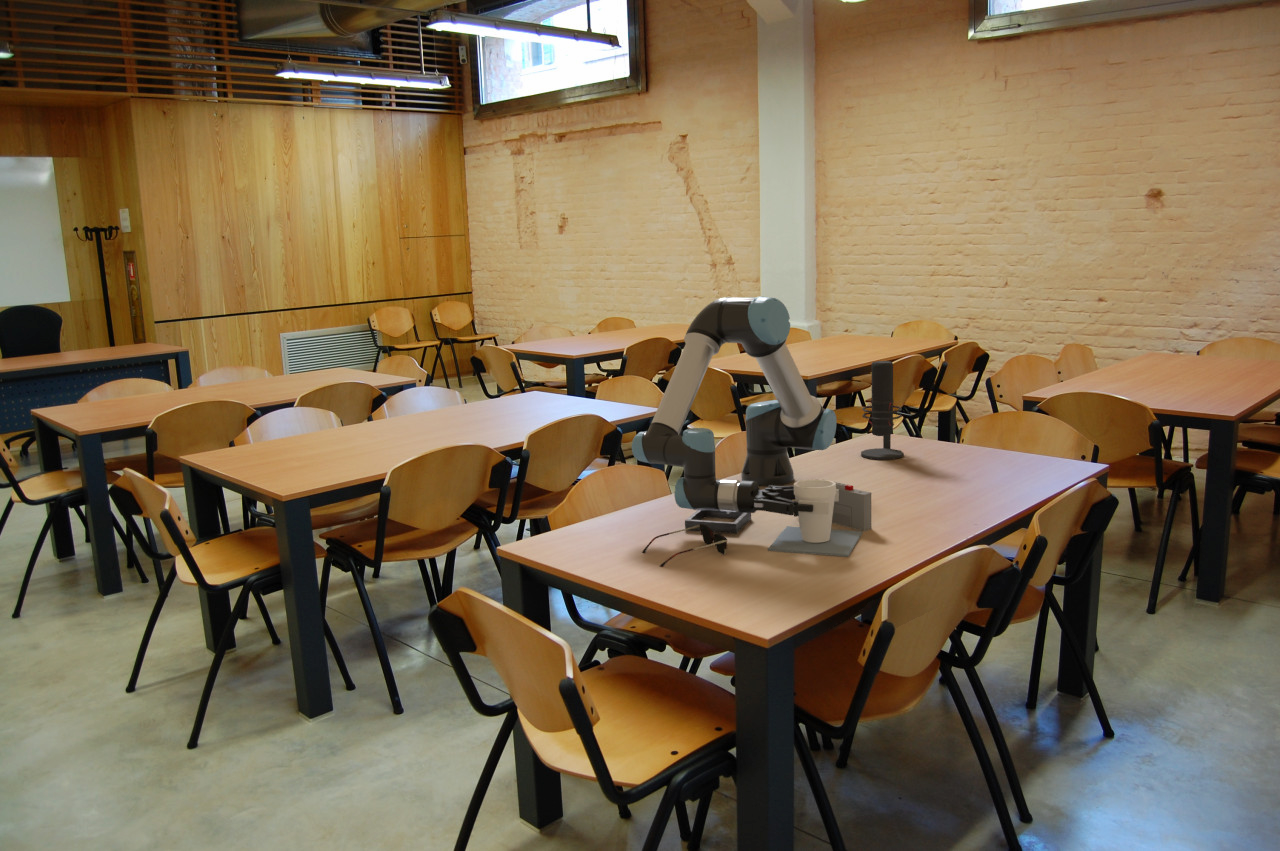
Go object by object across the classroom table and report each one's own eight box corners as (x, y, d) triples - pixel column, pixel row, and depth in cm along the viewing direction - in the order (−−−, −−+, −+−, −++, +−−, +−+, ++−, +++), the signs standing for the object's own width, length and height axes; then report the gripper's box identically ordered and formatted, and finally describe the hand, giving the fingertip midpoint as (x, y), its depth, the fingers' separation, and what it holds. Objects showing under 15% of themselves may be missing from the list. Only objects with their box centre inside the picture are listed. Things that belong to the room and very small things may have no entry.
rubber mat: (787, 528, 233) (787, 526, 233) (862, 533, 226) (862, 531, 226) (768, 550, 216) (767, 548, 216) (848, 557, 210) (848, 554, 210)
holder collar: (702, 515, 247) (701, 506, 246) (751, 519, 242) (751, 509, 241) (685, 530, 235) (684, 520, 234) (736, 534, 230) (736, 523, 229)
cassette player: (871, 529, 229) (871, 488, 227) (864, 531, 228) (863, 490, 226) (821, 516, 242) (821, 478, 240) (814, 518, 240) (813, 480, 238)
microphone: (852, 452, 311) (851, 360, 306) (889, 448, 315) (890, 358, 309) (873, 461, 298) (873, 365, 292) (912, 457, 301) (912, 362, 295)
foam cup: (842, 536, 222) (841, 481, 221) (827, 546, 215) (826, 489, 213) (804, 532, 228) (803, 478, 226) (788, 541, 220) (787, 486, 218)
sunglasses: (729, 558, 213) (727, 537, 212) (662, 574, 208) (660, 552, 207) (703, 542, 226) (701, 522, 225) (639, 557, 221) (637, 536, 220)
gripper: (753, 499, 237) (843, 504, 229) (725, 525, 216) (823, 532, 208) (752, 469, 236) (842, 473, 228) (724, 493, 215) (822, 498, 207)
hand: (833, 501), depth 218 cm, fingers open, 11 cm apart
